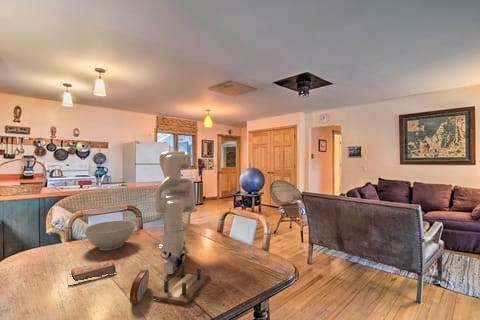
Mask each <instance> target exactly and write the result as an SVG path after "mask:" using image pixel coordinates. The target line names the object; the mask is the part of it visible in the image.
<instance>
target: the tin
mask: <svg viewBox="0 0 480 320" xmlns="http://www.w3.org/2000/svg"><path fill="white" fill-rule="evenodd" d="M149 274H150V271H149V269H140V271H139V272H138V273H137V275H136V276H135V278H134V279H133V281H132V284H131V287H130V290H129V291H130V293H129V302H130V304H139V303H140V302H141V301H140V300H142V299H143V297H144V296H145V294H146V292H147V290H148V286H149ZM146 289H147V290H146ZM145 291H146V292H145ZM141 298H142V299H141Z"/></svg>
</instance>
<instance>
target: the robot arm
mask: <svg viewBox="0 0 480 320" xmlns="http://www.w3.org/2000/svg"><path fill="white" fill-rule="evenodd" d="M158 160H159V165H160V168H161V171H162V174H163V175H164V176H163V177H164V178H163V180H162V181H161V182H160V184H159V185H158V186H157V188H156V190H155V195H154V197H155V198H154V205H155V206H154V208H155V211H156V212H157V213H158V214H162V215H163V236H162V237H163V238H162V244H159V245H158V246H159V247H158V250H159V251H162V252H160V253H161V254H160V255H161V258H163V259H165V260H167V259H168V258H169V257H170V256H171V255H172V254H173V253H176V254H178V259H177V267H178V268H177V269H179V268H181V267H182V266H183V263H184V261H183V257H184V256H186V255H188V253H190V250H189V249H188V248H187V247H188V246H187V240H186V234H185V233H186V232H185V229H184V222H183V221H184V214H186V213H187V214H188V213H192V212H194V211H195V209H196V198H195V195H196V194H195V189H194V183H193V181H192V180H191V179H190V178H182V171H181V170H190V169H191V167H192V158H191V155H190V153H189V151H183V150H182V151H178V150H177V151H175V150H173V151H172V150H171V151H170V150H169V151H164V152H161V153H160V154H159V159H158ZM163 193H165V197H162V194H163ZM183 250H184V253H183Z"/></svg>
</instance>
